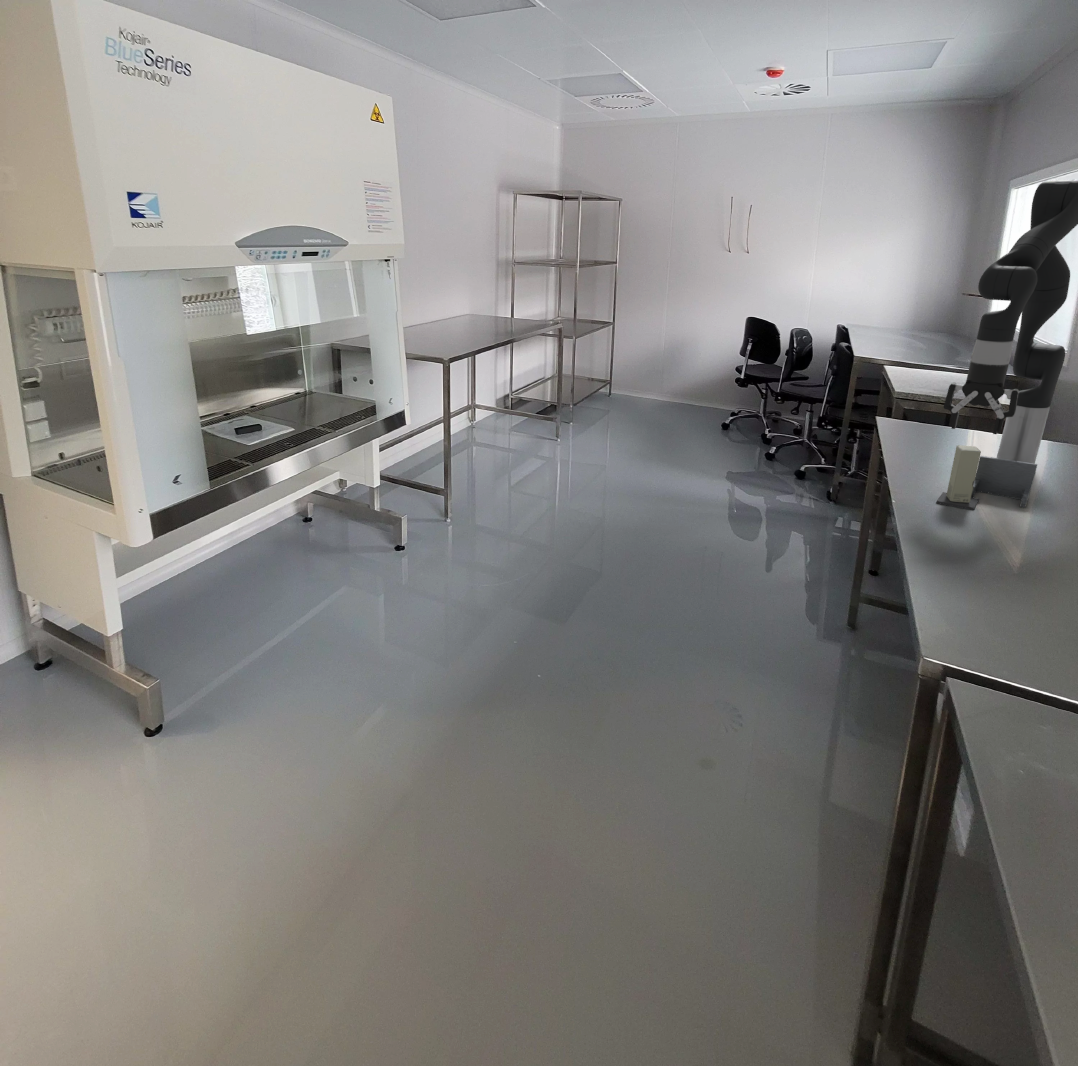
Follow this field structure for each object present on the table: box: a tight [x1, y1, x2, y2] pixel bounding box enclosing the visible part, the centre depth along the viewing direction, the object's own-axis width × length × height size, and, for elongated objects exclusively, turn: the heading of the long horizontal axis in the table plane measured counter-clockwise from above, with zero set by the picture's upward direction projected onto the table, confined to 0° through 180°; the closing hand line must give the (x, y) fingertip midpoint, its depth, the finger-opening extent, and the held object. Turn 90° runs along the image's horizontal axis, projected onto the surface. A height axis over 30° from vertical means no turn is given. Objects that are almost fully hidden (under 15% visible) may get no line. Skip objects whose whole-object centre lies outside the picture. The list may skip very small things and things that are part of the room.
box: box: [946, 444, 982, 503], centre depth 175 cm, size 5×4×13 cm
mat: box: [935, 491, 980, 511], centre depth 178 cm, size 8×8×1 cm
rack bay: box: [971, 455, 1038, 509], centre depth 178 cm, size 8×12×9 cm, turn 53°
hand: (973, 430), depth 171 cm, fingers open, 8 cm apart
